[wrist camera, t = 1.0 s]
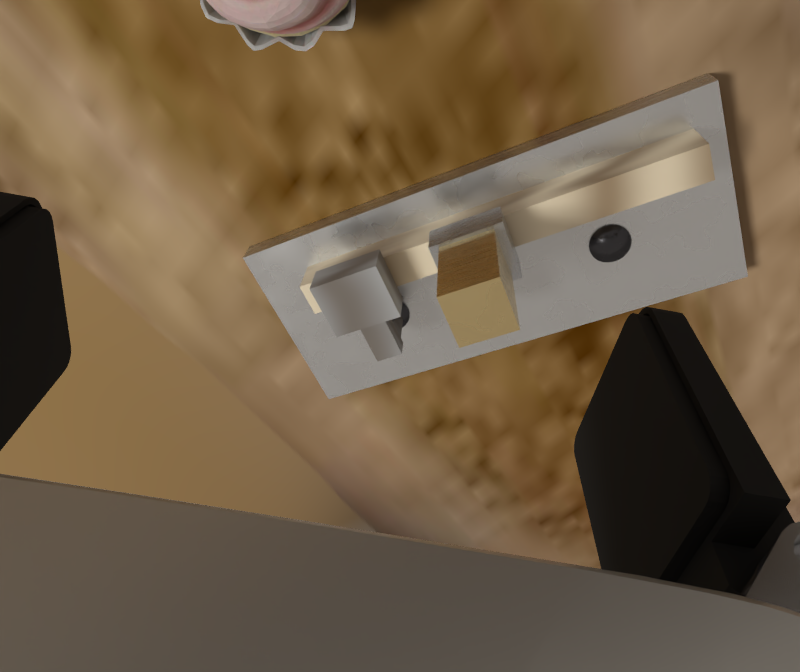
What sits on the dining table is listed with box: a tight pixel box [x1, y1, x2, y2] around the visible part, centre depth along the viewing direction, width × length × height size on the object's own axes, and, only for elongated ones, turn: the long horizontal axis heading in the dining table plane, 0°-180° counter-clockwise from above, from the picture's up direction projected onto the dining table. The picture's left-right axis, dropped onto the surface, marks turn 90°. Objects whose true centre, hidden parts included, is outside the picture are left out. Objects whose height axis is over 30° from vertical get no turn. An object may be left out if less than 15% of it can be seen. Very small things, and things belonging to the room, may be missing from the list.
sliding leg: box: [428, 206, 523, 348], centre depth 34 cm, size 4×6×9 cm, turn 23°
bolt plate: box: [243, 73, 748, 399], centre depth 40 cm, size 28×12×2 cm, turn 113°
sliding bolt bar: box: [300, 129, 715, 362], centre depth 36 cm, size 23×6×5 cm, turn 113°
